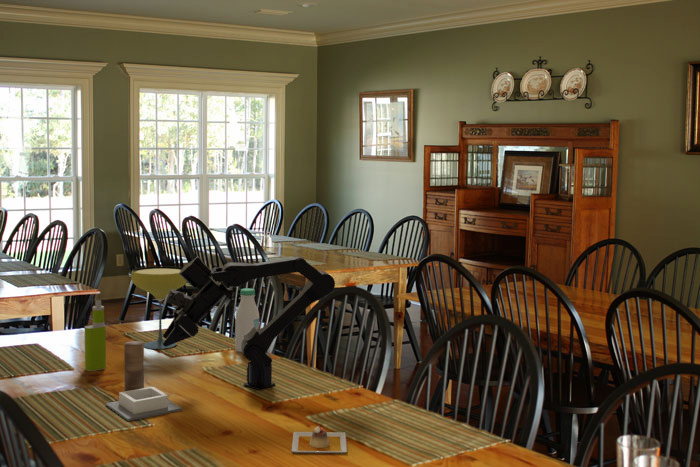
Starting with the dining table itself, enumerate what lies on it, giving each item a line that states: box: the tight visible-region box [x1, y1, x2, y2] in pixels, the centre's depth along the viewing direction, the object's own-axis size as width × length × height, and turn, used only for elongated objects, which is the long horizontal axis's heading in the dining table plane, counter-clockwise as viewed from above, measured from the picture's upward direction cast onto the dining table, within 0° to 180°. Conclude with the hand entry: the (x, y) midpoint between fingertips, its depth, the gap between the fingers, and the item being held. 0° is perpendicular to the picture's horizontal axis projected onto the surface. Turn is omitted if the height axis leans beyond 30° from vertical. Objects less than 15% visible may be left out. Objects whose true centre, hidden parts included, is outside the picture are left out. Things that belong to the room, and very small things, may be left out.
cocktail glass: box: [130, 265, 188, 351], centre depth 261 cm, size 18×18×25 cm
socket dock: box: [105, 386, 183, 422], centre depth 200 cm, size 14×14×4 cm
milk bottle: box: [234, 288, 260, 353], centre depth 258 cm, size 8×8×20 cm
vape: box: [84, 299, 107, 372], centre depth 233 cm, size 4×6×20 cm, turn 134°
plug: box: [123, 340, 145, 392], centre depth 213 cm, size 5×5×13 cm
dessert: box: [291, 424, 348, 454], centre depth 178 cm, size 12×12×5 cm
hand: (163, 341), depth 214 cm, fingers open, 9 cm apart
